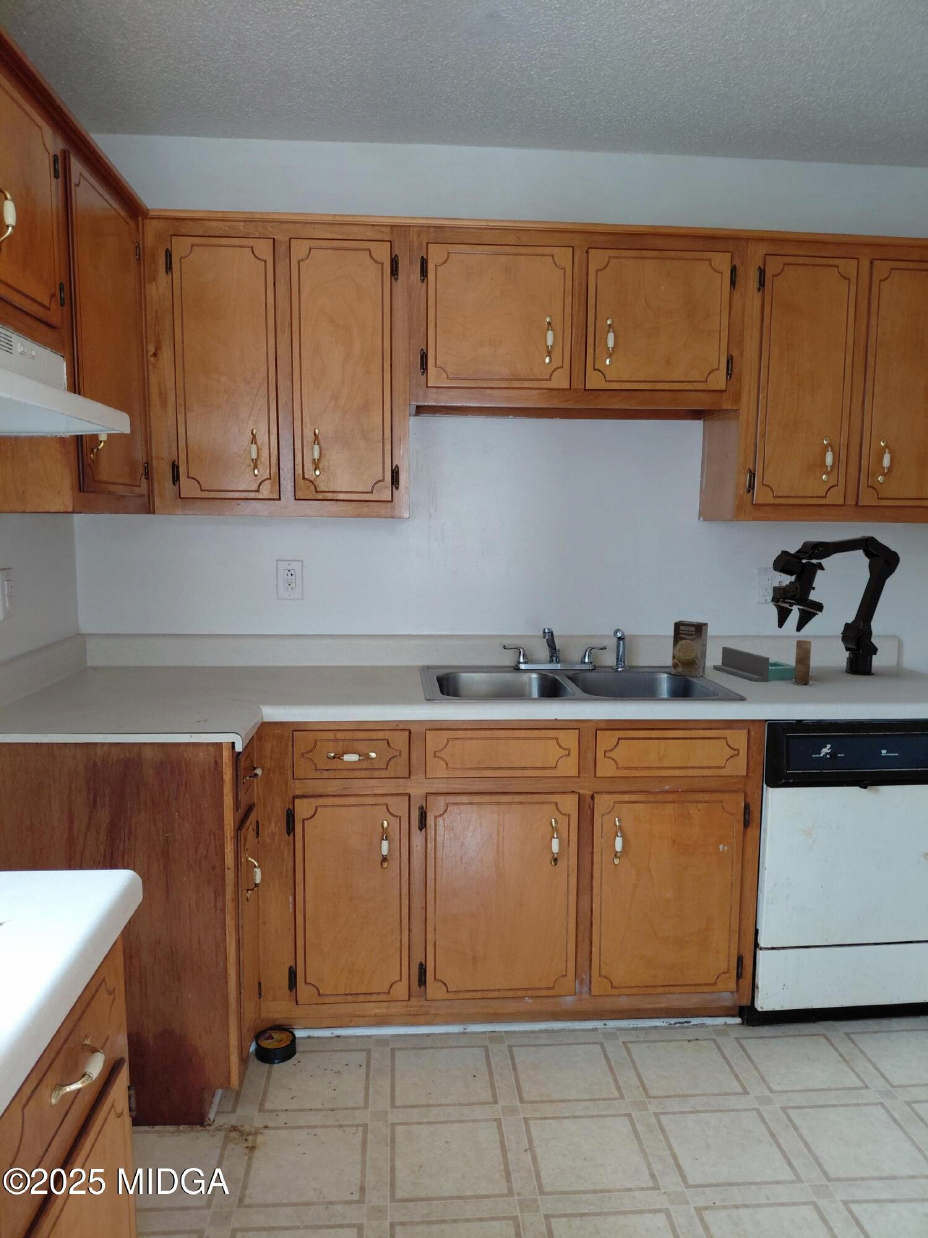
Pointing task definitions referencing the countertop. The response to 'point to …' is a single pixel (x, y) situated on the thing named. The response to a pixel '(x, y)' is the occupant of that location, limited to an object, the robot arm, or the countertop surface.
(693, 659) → the coffee box
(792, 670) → the socket block
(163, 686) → the countertop surface
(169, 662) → the countertop surface
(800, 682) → the dowel
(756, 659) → the backstop wall
